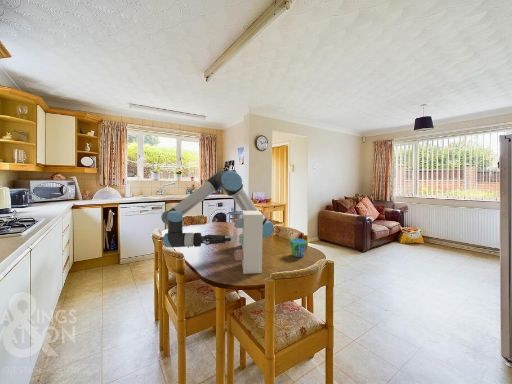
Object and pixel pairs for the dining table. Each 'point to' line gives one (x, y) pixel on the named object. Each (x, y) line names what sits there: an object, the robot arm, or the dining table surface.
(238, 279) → the dining table surface
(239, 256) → the terracotta button
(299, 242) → the snack cup
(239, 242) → the sage button
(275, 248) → the dining table surface
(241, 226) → the slate button
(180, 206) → the robot arm
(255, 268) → the button pillar
